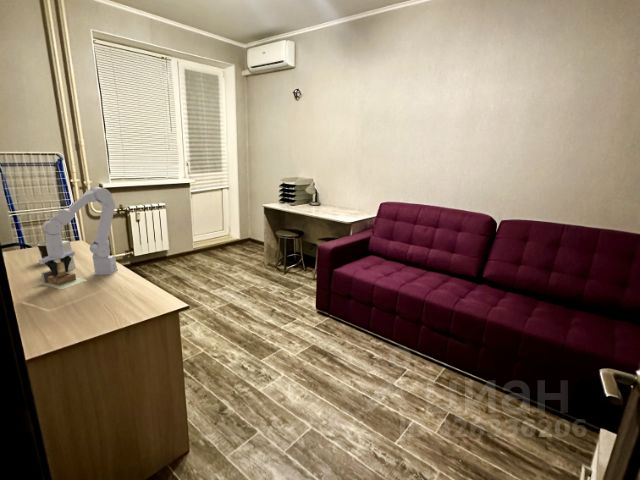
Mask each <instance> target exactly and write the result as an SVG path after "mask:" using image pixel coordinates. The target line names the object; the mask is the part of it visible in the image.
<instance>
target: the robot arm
mask: <svg viewBox="0 0 640 480" xmlns="http://www.w3.org/2000/svg"><path fill="white" fill-rule="evenodd" d="M95 202H98V203H99V204H100V206H101V207H102V208H101V211H100V212H101V213H100V216H99V217H100V218H99V220H98V221H99V222H98V226H97V231H96V236H95V238H94V239H93V241H92V243H91V244H90V246H89V251H90V253H92V262H93V268H94V272H93V273H91V275H93V276H94V275H112V274H113V273H114V272H117V271H118V266H117V265H118V264H117V260H116V257H115V256H114V255H110V254H111V249H110V240H109V236H110V232H111V227H112V222H113V217H114V214H115V213H114V212H115V208H116V203H115V201H114V199H113V194H112V193H111V192H110V191H109V190H108V189H107V188H104V187H100V186H98V185H96V186H92V187H91V188H89V189H87V190H86V191H85V192H84V193H83V194H82V195H81V196H80V197H79V198H78V199H77V200H75V202H73V203H72V204H71V205H70V206H69V207H68V208H62V209H58V211H57V213H56V214H55V215H54V216H53V217H50V218H49V220H46V221H45V222H43V223H42V227H41V229H42V230H43V231H44V235H45V242H47V246H48V251H49V256H47V257H45V258H42V257H41V258H40V259H38V263H39V264H40V265H44V264H45V265H46V266H47V267H48V268H49V269H50V270H51V271H52V273H53V275H55V276H57V275H58V273H57V263H56V262H55V261H54V260H57V259H60V261H63V262H64V265H65V271H66V273H67V272H69V271H68V267H69V263H70V261H71V257H69V256H73V257H74V256H76V254H75V253H76V252H75V251H74V250H72V251H69V252H64V247H63V242H62V241H63V238H62V237H63V236H62V233H61V232H62V230H63V228H64V227H65V226H66V225H67V224H68V223H70V222H71V221H72V220H73V219H75V214H76V213H77V212H78V211H80V210H81V209H82V208H83V207H85V206H86V205H87V204H89V203H95ZM50 270H49V271H50Z"/></svg>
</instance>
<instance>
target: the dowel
mask: <svg viewBox="0 0 640 480" xmlns="http://www.w3.org/2000/svg"><path fill="white" fill-rule="evenodd" d="M56 263H57V273H58V275H57V276H56V277H57V278H60V277H63V276H66V271H65V265H64V262H63V261H59V262H56Z"/></svg>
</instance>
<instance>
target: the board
mask: <svg viewBox="0 0 640 480" xmlns="http://www.w3.org/2000/svg"><path fill="white" fill-rule="evenodd" d="M84 282H88V279H84V278H81V277H77V276H76V280H73V281H71V282H68V283H65V284H62V285H59V286H58V285H55V284H51V283H43V282H42V283H41V282H40V284H41V285H44V286H48V287H51V288H54V289H58V290H64V289H67V288H70V287H72V286H75V285H78V284H81V283H84Z"/></svg>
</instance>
